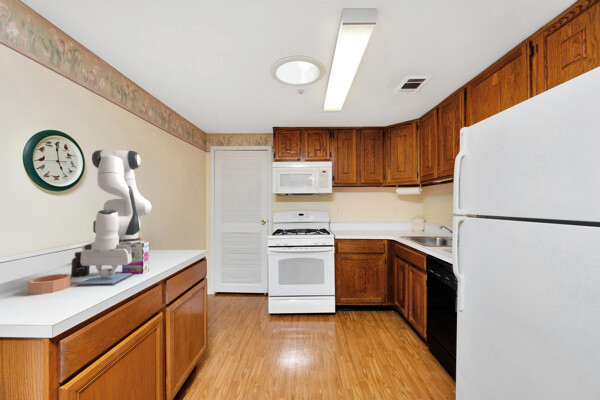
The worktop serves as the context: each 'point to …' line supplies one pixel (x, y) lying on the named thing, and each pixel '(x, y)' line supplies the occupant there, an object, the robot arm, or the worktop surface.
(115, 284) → the mat
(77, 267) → the supplement bottle
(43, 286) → the bowl
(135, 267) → the candy bar box
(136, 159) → the robot arm
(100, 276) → the cover sheet
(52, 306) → the worktop surface
